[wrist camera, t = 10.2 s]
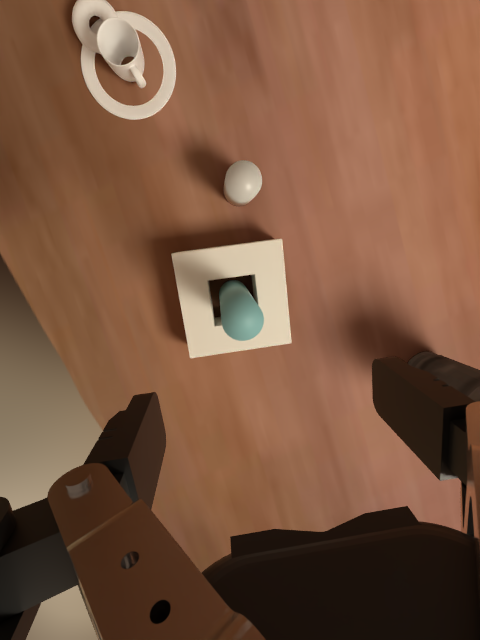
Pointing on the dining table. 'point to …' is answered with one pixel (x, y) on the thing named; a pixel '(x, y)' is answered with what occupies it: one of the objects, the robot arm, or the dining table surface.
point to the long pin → (239, 311)
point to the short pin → (242, 183)
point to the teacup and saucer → (120, 54)
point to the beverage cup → (450, 372)
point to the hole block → (224, 263)
